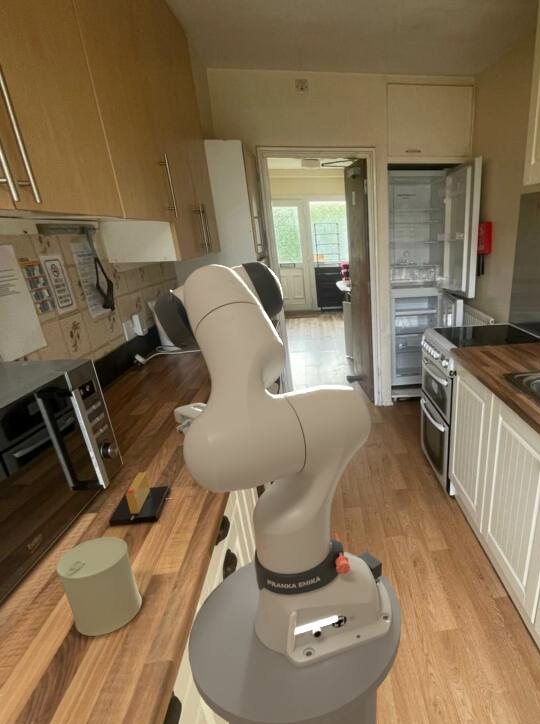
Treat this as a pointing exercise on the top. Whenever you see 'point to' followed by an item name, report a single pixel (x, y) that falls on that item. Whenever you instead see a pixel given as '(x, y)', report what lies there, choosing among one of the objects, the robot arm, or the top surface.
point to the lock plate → (147, 512)
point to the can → (99, 585)
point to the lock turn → (138, 493)
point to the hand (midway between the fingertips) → (180, 431)
